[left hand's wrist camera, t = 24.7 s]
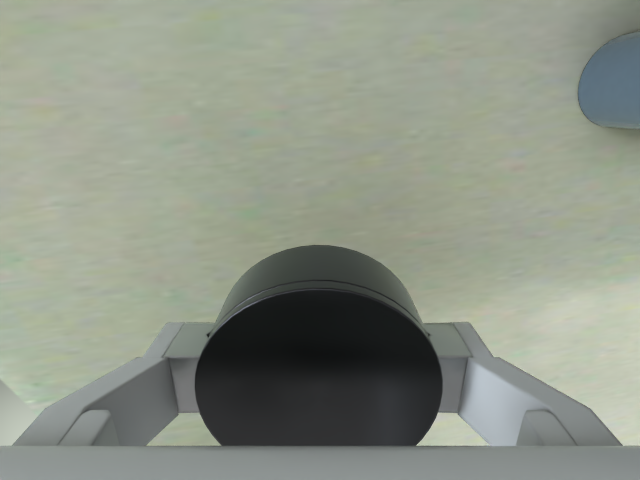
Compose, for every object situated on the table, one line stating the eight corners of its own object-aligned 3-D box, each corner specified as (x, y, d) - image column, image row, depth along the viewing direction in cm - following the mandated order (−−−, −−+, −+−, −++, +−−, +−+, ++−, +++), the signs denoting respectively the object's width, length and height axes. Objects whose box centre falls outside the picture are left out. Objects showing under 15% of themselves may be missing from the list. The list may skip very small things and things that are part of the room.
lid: (291, 202, 9) (282, 235, 7) (458, 315, 10) (496, 373, 8) (186, 354, 11) (150, 420, 9) (339, 435, 12) (344, 511, 10)
